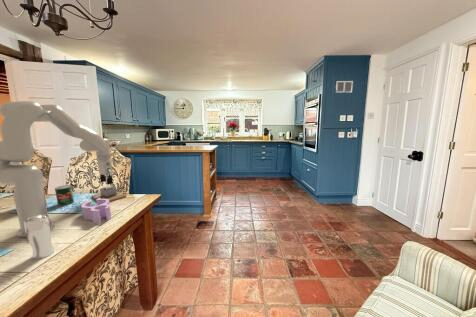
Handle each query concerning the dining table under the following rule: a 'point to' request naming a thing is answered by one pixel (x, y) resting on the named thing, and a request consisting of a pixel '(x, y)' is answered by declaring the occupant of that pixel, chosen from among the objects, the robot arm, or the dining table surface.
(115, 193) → the collar
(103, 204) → the clip
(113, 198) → the dock
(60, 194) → the canned tomato
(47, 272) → the dining table surface
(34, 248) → the beer glass
